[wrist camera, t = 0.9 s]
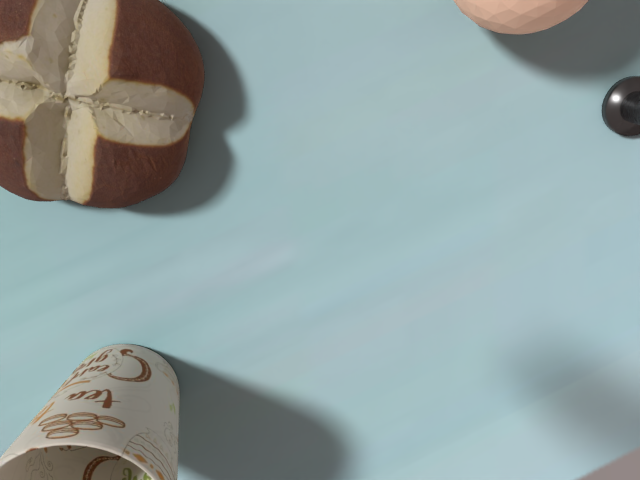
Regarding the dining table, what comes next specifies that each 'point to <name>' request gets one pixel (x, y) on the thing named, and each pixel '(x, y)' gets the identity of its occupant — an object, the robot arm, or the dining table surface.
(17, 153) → the bread
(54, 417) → the mug
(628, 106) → the pole
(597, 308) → the dining table surface
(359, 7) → the dining table surface
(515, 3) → the egg
